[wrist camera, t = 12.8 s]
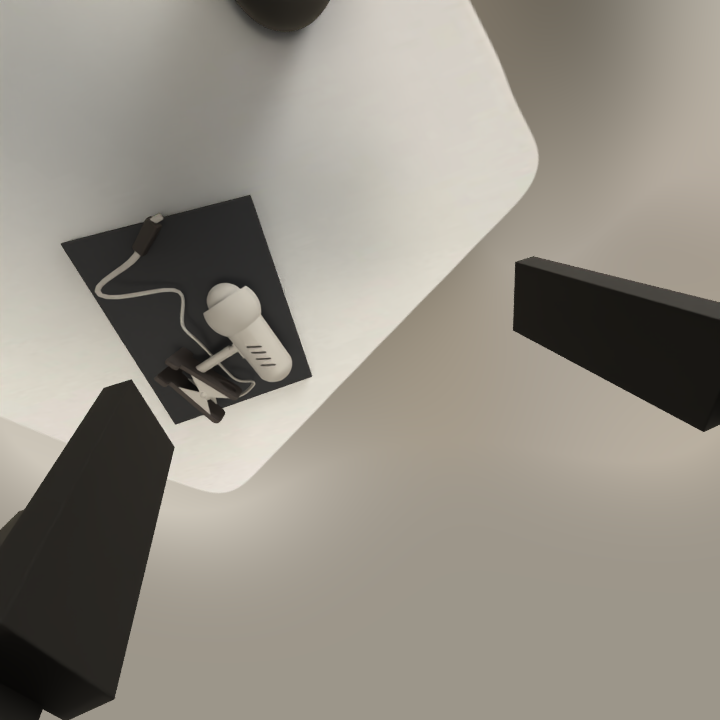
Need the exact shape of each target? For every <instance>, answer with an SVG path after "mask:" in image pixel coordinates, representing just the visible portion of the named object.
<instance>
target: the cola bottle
mask: <svg viewBox="0 0 720 720" xmlns="http://www.w3.org/2000/svg"><path fill="white" fill-rule="evenodd" d="M329 1H330V0H236V2H237V3H238V4H239V5H240V7H241V8H242V9H243V10H244V11H245V12H246V13H247V14H248V15H249V16H250V17H251V18H252V19H253V20H255V21H256V22H258V23H259V24H261V25H262V26H264V27H266V28H269V29H271V30H275V31H280V32H291V31H296V30H299V29H302V28H304V27H306V26H307V25H309V24H310V23H312V22H313V21H314V20H315V19H316V18H318V16H319V15H320V14H321V13H322V12H323V10H324V9H325V8H326V6H327V4H328V3H329Z"/></svg>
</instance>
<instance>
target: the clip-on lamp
mask: <svg viewBox="0 0 720 720" xmlns="http://www.w3.org/2000/svg"><path fill="white" fill-rule="evenodd" d="M163 219H164V218H163V216H162V215H161V214H160V213H158V214H157V215H155V216H153V217H152V216H150V217H148V218H146V220H145V222H144V224H143V226H142V228H141V230H140V232H139V234H138V236H137V238H136V240H135V242H134V244H133V245H132V249H133V250H134V251H135V252H134V254H133V255H132V256H131V257H130V258H129V259H128V260H127V261H126V262H125V263H124V264H122V265H121V266H120V267H118V268H117V269H116V270H114V271H113V272H111V273H110V274H109V275H107V276H106V277H105V278H103V279H102V280H101V281H100V282H99V283H98V284H97V285H96V288H95V293H96V294H97V295H98V297H102V298H105V299H124V298H131V297H137V296H143V295H148V294H154V293H160V292H175V293H178V294H179V295H180V296H181V301H182V303H181V313H180V323H181V327H182V328H183V330H184V331H185V332H186V333H187V334H188V335H189V336H190V337H191V338H193V339H194V340H195V341H196V342H197V343H198V344H199V345H200V346H201V347H202V348H203V349H204V350H205V351H206V352H207V353H208V354H209V355H210V356H211V357H210V358H208V359H207V360H205V361H204V362H202V363H201V362H199V361H198V360H196V359H194V358H193V357H192V356H193V355H194V354H193V353H192V352H191V351H189V350H188V349H186V348H184V347H182V348H181V349H179V350H178V351H177V352H175V353H174V354H173V355H171V356H170V357H169V358H167V360H166V361H165V364H166V365H168V367H167V368H165V369H164V370H163V371H162V372H160V373H159V374H158V375H157V376H156V377H155V378H154V380H155V381H156V382H158V383H159V384H160V385H161V386H163V387H167V386H168V385H170V386H171V387H172V388H173V389H174V390H175V391H177V392H178V393H179V394H180V395H181V396H182V397H184V398H185V399H186V400H187V401H188V402H190V403H191V404H192V405H193V406H194V407H195V408H197V409H198V410H199V411H200V412H201V413H203V414H204V415H205V416H206V417H207V418H208V419H210V420H211V421H212V422H214V423H219V422H220V421H221V420H222V418H223V416H224V415H225V411H224V410H223V409H222V408H221V407H220V406H219V405H218V404H217V401H216V398H230V399H232V400H235V401H236V400H237V399H238V398H239V397H241V396H244V395H245V394H247V393H248V392H249V391H250V390H251V389H252V388H253V387H254V386H255V382H254V381H253V380H240V379H237V378H235V377H234V376H233V375H232V374H231V373H230V372H229V371H228V370H227V369H226V368H225V367H224V366H223V365H222V364H221V363H220V362H222V361H223V360H225V359H226V358H228V357H230V356H232V355H233V354H235V353H236V352H239V353H240V355H241V356H242V357H243V358H245V359H246V360H247V361H248V362H249V364H250V365H251V366H252V367H253V369H254V370H255V371H256V372H257V374H258V375H259V376H260V377H261V379H263V380H265V381H268V382H277V381H280V380H282V379H284V378H285V377H286V376H287V375H288V374H289V373H290V371H291V368H292V359H291V356H290V355H289V354H288V352H287V351H286V349H285V348H284V347H283V345H282V344H281V342H280V341H279V339H278V338H277V337H276V335H275V334H274V332H273V331H272V330H271V328H270V327H269V325H268V324H267V323H266V321H265V320H264V318H263V317H262V315H261V305H260V302H259V299H258V298H257V296H256V294H255V293H254V292H253V291H252V290H251V289H250V288H248V287H247V286H245V287H243V288H241V289H240V288H238V287H237V286H235V285H233V284H230V283H220V284H217V285H216V286H214V287H213V288H212V289H211V290H210V291H209V293H208V296H207V305H208V308H209V310H207V311H206V312H204V313H203V314H204V318H205V320H206V322H207V323H208V325H209V326H210V327H211V328H212V329H213V330H214V331H215V332H217V333H219V334H221V335H223V336H227V337H228V338H229V339H230V340H231V341H232V343H233V344H232V346H227V347H226V348H224V349H222V350H221V351H219V352H218V353H216V354H215V355H213V354H212V353H211V352H210V351H209V350H208V349H207V348H206V347H205V346H204V345H203V344H202V343H201V342H200V341H199V340H198V339H197V338H196V337H195V336H193V335H192V334H191V333H190V332H189V331H188V330H187V329H186V328H185V325H184V309H185V300H184V295H183V294H182V292H181V291H180V290H177V289H175V288H161V289H154V290H147V291H142V292H136V293H130V294H123V295H106V294H102V292H101V289H102V287H103V286H104V285H105V284H106V283H107V282H109V281H110V280H111V279H113V278H114V277H116V276H117V275H119V274H120V273H122V272H123V271H125V270H126V269H128V268H129V267H130V266H131V265H133V264H134V263H135V262H136V261H137V260H138V259H139V257H140V256H144V255H146V254H147V253H148V251H149V249H150V247H151V245H152V244H153V242H154V240H155V238H156V236H157V234H158V233H159V231H160V229H161V227H162V225H161V224H160V223H159V222H160V221H161V220H163ZM217 364H218V365H219V366H220V367H221V368H222V369H223V370H224V371H225V372H226V373H227V374H228V375H229V376H230V377H231V378H233V379H234V380H236V381H238V382H245V383H247V382H252V384H251V385H250V386H249V388H248V389H246V390H245V391H244V392H242V389H241V388H240V387H239V386H238V385H236V384H234V383H233V382H231V381H230V380H228V379H226V378H225V377H223V376H222V375H220V374H218V373H217V372H215V371H214V370H212V369H211V368H212V367H214V366H215V365H217ZM183 370H184V371H185V372H187V373H189V374H190V375H191V376H192V378H193V379H189V378H187V377H186V376H185V375H184V374H183V373H182V372H183Z"/></svg>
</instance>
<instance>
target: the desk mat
mask: <svg viewBox="0 0 720 720" xmlns="http://www.w3.org/2000/svg"><path fill="white" fill-rule="evenodd" d="M163 218H164V219H163V220H161V221H160V222H159V223H160V224H161V225H162V227H161V229H160V231H159V233H158V234H157V236H156V238H155V240H154V242H153V244H152V245H151V247H150V249H149V251H148V253H147V254H146V255H144V256H140V257H139V259H138V260H137V261H136V262H135V263H134V264H133V265H131V266H130V267H129V268H128V269H126V270H125V271H123V272H122V273H120V274H119V275H117V276H116V277H114V278H113V279H111V280H110V281H109V282H107V283H106V284H105V285H104V286H103V287H102V289H101V292H102V294H106V295H123V294H130V293H136V292H142V291H147V290H154V289H161V288H175V289H177V290H180V291H181V292H182V294H183V295H184V300H185V309H184V325H185V328H186V329H187V330H188V331H189V332H190V333H191V334H192V335H193V336H195V337H196V338H197V339H198V340H199V341H200V342H201V343H202V344H203V345H204V346H205V347H206V348H207V349H208V350H209V351H210V352H211V353H212V354H213V355H215V354H216V353H218V352H219V351H221V350H222V349H224V348H226V347H227V346H232V344H233V343H232V341H231V340H230V339H229V338H228V337H227V336H223V335H221V334H219V333H217V332H215V331H214V330H213V329H212V328H211V327H210V326H209V325H208V323H207V322H206V320H205V318H204V314H203V313H204V312H206V311H207V310H209V308H208V305H207V296H208V293H209V291H210V290H211V289H212V288H213V287H214V286H216V285H217V284H220V283H230V284H233V285H235V286H237V287H238V288H240V289H241V288H243V287H245V286H247V287H248V288H250V289H251V290H252V291H253V292H254V293H255V294H256V296H257V298H258V299H259V302H260V305H261V315H262V317H263V318H264V320H265V321H266V323H267V324H268V325H269V327H270V328H271V330H272V331H273V332H274V334H275V335H276V337H277V338H278V339H279V341H280V342H281V344H282V345H283V347H284V348H285V349H286V351H287V352H288V354H289V355H290V356H291V359H292V368H291V371H290V373H289V374H288V375H287V376H286V377H285V378H284V379H282V380H280V381H277V382H268V381H265V380H263V379H261V377H260V376H259V375H258V374H257V372H256V371H255V370H254V369H253V367H252V366H251V365H250V364H249V362H248V361H247V360H246V359H245V358H243V357H242V356H241V355H240V353H239V352H236V353H235V354H233V355H232V356H230V357H228V358H226V359H225V360H223V361H222V362H220V363H221V364H222V365H223V366H224V367H225V368H226V369H227V370H228V371H229V372H230V373H231V374H232V375H233V376H234V377H235V378H237V379H240V380H253V381H254V382H255V386H254V387H253V388H252V389H251V390H250V391H249V392H248V393H247V394H245V395H244V396H241V397H239V398H238V399H237V400H236V401H235V400H232V399H230V398H216V401H217V404H218V405H219V406H220V407H221V408H224V407H227V406H230V405H232V404H235V403H238V402H241V401H244V400H247V399H250V398H252V397H255V396H258V395H261V394H264V393H267V392H269V391H272V390H275V389H278V388H281V387H284V386H286V385H289V384H292V383H295V382H298V381H301V380H304V379H306V378H309V377H312V375H311V372H310V369H309V366H308V363H307V360H306V357H305V354H304V351H303V348H302V345H301V342H300V339H299V337H298V334H297V331H296V328H295V325H294V322H293V319H292V316H291V313H290V310H289V307H288V304H287V301H286V298H285V295H284V293H283V290H282V287H281V284H280V281H279V278H278V275H277V272H276V269H275V266H274V263H273V260H272V257H271V254H270V252H269V249H268V246H267V243H266V240H265V237H264V234H263V231H262V228H261V225H260V222H259V219H258V216H257V213H256V210H255V208H254V205H253V202H252V199H251V196H250V195H248V196H244V197H241V198H237V199H233V200H229V201H225V202H221V203H217V204H213V205H209V206H205V207H201V208H198V209H194V210H190V211H186V212H182V213H178V214H174V215H170V216H166V217H163ZM143 224H144V222H143V223H139V224H135V225H131V226H127V227H123V228H119V229H115V230H111V231H108V232H104V233H100V234H96V235H92V236H88V237H84V238H80V239H76V240H72V241H68V242H65V243H61V245H62V247H63V249H64V250H65V252H66V253H67V255H68V256H69V258H70V260H71V261H72V263H73V264H74V266H75V267H76V269H77V271H78V272H79V274H80V275H81V277H82V278H83V280H84V282H85V283H86V285H87V286H88V288H89V289H90V291H91V293H92V294H93V296H94V297H95V299H96V300H97V302H98V304H99V305H100V307H101V308H102V310H103V312H104V313H105V315H106V316H107V318H108V319H109V321H110V323H111V324H112V326H113V327H114V329H115V330H116V332H117V334H118V335H119V337H120V338H121V340H122V341H123V343H124V345H125V346H126V348H127V349H128V351H129V352H130V354H131V356H132V357H133V359H134V360H135V362H136V363H137V365H138V367H139V368H140V370H141V371H142V373H143V374H144V376H145V378H146V379H147V381H148V382H149V384H150V385H151V387H152V389H153V390H154V392H155V393H156V395H157V396H158V398H159V400H160V401H161V403H162V404H163V406H164V408H165V409H166V411H167V412H168V414H169V415H170V417H171V419H172V420H173V422H174V423H175V424H178V423H181V422H184V421H187V420H190V419H193V418H196V417H198V416H201V415H204V414H203V413H201V412H200V411H199V410H198V409H197V408H195V407H194V406H193V405H192V404H191V403H190V402H188V401H187V400H186V399H185V398H184V397H182V396H181V395H180V394H179V393H178V392H177V391H175V390H174V389H173V388H172V387H171V386H170V385H168V386H167V387H163V386H161V385H160V384H159V383H158V382H156V381H155V380H154V378H155V377H156V376H157V375H158V374H159V373H160V372H162V371H163V370H164V369H165V368H167V367H168V365H166V364H165V361H166V360H167V358H169V357H170V356H171V355H173V354H174V353H175V352H177V351H178V350H179V349H181V348H182V347H184V348H186V349H188V350H189V351H191V352H192V353H193V354H194V355H193V356H192V357H193V358H194V359H196V360H198V361H199V362H201V363H202V362H204V361H205V360H207V359H208V358H210V357H211V356H210V355H209V354H208V353H207V352H206V351H205V350H204V349H203V348H202V347H201V346H200V345H199V344H198V343H197V342H196V341H195V340H194V339H193V338H191V337H190V336H189V335H188V334H187V333H186V332H185V331H184V330H183V328H182V327H181V323H180V313H181V303H182V301H181V296H180V295H179V294H178V293H175V292H160V293H154V294H148V295H143V296H137V297H131V298H124V299H105V298H102V297H98V295H97V294H96V293H95V288H96V285H97V284H98V283H99V282H100V281H101V280H102V279H103V278H105V277H106V276H107V275H109V274H110V273H111V272H113V271H114V270H116V269H117V268H118V267H120V266H121V265H122V264H124V263H125V262H126V261H127V260H128V259H129V258H130V257H131V256H132V255H133V254H134V252H135V251H134V250H133V249H132V245H133V244H134V242H135V240H136V238H137V236H138V234H139V232H140V230H141V228H142V226H143ZM211 369H212V370H214V371H215V372H217V373H218V374H220V375H222V376H223V377H225V378H226V379H228V380H230V381H231V382H233V383H234V384H236V385H238V386H239V387H240V388H241V389H242V392H244V391H245V390H246V389H248V388H249V386H250V385H251V384H252V382H247V383H245V382H238V381H236V380H234V379H233V378H231V377H230V376H229V375H228V374H227V373H226V372H225V371H224V370H223V369H222V368H221V367H220V366H219V365H218V364H217V365H215V366H214V367H212V368H211ZM182 373H183V374H184V375H185V376H186V377H187V378H189V379H193V378H192V376H191V375H190V374H189V373H187V372H185V371H184V370H183V372H182Z"/></svg>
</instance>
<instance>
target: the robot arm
mask: <svg viewBox="0 0 720 720" xmlns="http://www.w3.org/2000/svg"><path fill="white" fill-rule="evenodd" d="M513 331H515V332H517V333H519V334H521V335H523V336H525V337H526V338H529V339H530V340H532V341H534V342H536V343H538V344H540V345H542V346H543V347H545V348H547V349H549V350H551V351H553V352H555V353H557V354H558V355H560V356H562V357H564V358H566V359H568V360H570V361H571V362H573V363H575V364H577V365H579V366H581V367H583V368H585V369H586V370H589V371H590V372H592V373H594V374H596V375H598V376H600V377H602V378H603V379H605V380H607V381H609V382H611V383H613V384H615V385H616V386H618V387H620V388H622V389H624V390H626V391H628V392H630V393H632V394H633V395H635V396H637V397H639V398H641V399H643V400H645V401H646V402H648V403H650V404H652V405H654V406H656V407H658V408H660V409H662V410H663V411H665V412H667V413H669V414H671V415H673V416H675V417H676V418H679V419H680V420H682V421H684V422H686V423H688V424H690V425H691V426H693V427H695V428H697V429H699V430H701V431H703V432H705V431H707V430H709V429H711V428H714V427H716V426H718V425H720V302H716V301H712V300H708V299H704V298H700V297H696V296H692V295H687V294H684V293H680V292H675V291H671V290H667V289H663V288H659V287H655V286H651V285H647V284H643V283H639V282H635V281H631V280H627V279H623V278H619V277H615V276H610V275H607V274H603V273H598V272H595V271H590V270H586V269H582V268H578V267H574V266H570V265H566V264H562V263H558V262H554V261H550V260H546V259H541V258H538V257H534V256H533V257H530V258H527V259H523V260H520V261H517V262H515V288H514V318H513ZM173 451H174V446H173V444H172V443H171V441H170V439H169V438H168V436H167V435H166V433H165V432H164V430H163V428H162V427H161V425H160V424H159V422H158V420H157V419H156V417H155V416H154V414H153V413H152V411H151V409H150V408H149V406H148V405H147V403H146V402H145V400H144V398H143V397H142V395H141V394H140V392H139V390H138V389H137V387H136V386H135V384H134V383H133V381H132V379H131V380H128V381H125V382H122V383H118V384H115V385H112V386H109V387H105V388H103V390H102V391H101V393H100V395H99V396H98V398H97V399H96V401H95V402H94V404H93V405H92V407H91V408H90V410H89V411H88V413H87V414H86V416H85V418H84V419H83V421H82V422H81V424H80V425H79V427H78V428H77V430H76V431H75V433H74V434H73V436H72V437H71V439H70V441H69V442H68V444H67V445H66V447H65V448H64V450H63V451H62V453H61V454H60V456H59V457H58V459H57V460H56V462H55V464H54V465H53V467H52V468H51V470H50V471H49V473H48V474H47V476H46V477H45V479H44V481H43V482H42V483H41V485H40V487H39V488H38V490H37V491H36V493H35V494H34V496H33V497H32V499H31V500H30V502H29V503H28V505H27V506H26V508H25V509H24V510H22V511H19V512H18V513H17V514H16V515H15V516H14V517H13V518H12V519H11V520H10V521H9V522H8V523H7V524H6V525H5V526H4V527H3V528H2V529H1V530H0V720H39V718H40V715H41V712H42V710H43V709H44V710H45V711H47V712H49V713H51V714H53V715H55V716H57V717H59V718H61V719H62V720H69V719H72V718H74V717H76V716H79V715H81V714H83V713H85V712H87V711H90V710H92V709H94V708H96V707H98V706H101V705H103V704H105V703H107V702H109V701H112V700H114V698H115V694H116V690H117V686H118V681H119V677H120V673H121V668H122V665H123V661H124V657H125V652H126V648H127V644H128V640H129V635H130V631H131V627H132V623H133V618H134V614H135V610H136V606H137V602H138V598H139V594H140V589H141V585H142V581H143V577H144V572H145V568H146V564H147V560H148V556H149V552H150V547H151V543H152V539H153V535H154V530H155V527H156V522H157V518H158V514H159V509H160V505H161V501H162V497H163V493H164V488H165V485H166V480H167V476H168V472H169V468H170V464H171V460H172V455H173Z"/></svg>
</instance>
